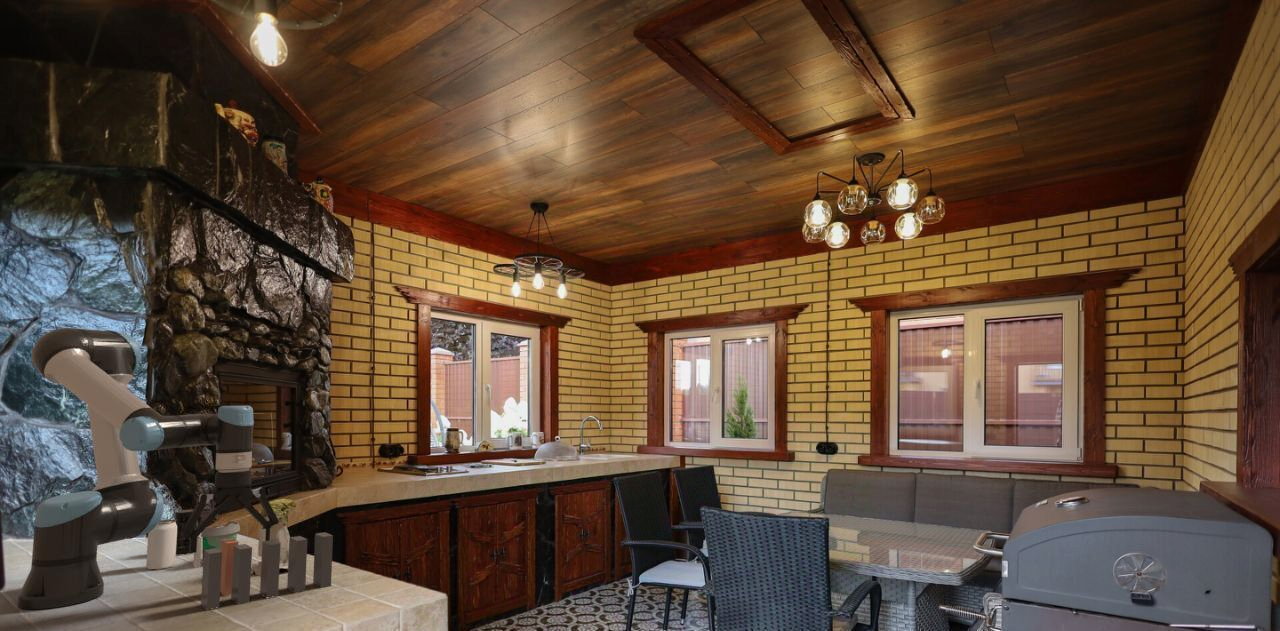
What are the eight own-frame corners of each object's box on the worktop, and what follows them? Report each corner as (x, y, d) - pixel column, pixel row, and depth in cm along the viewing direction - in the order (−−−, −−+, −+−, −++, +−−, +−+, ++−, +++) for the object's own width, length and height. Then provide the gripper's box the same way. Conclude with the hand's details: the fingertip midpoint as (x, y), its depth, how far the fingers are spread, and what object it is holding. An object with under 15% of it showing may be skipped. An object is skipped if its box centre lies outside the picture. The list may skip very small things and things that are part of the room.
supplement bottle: (171, 551, 205) (173, 509, 206) (198, 549, 208) (200, 508, 209) (166, 556, 199) (169, 513, 200) (194, 554, 202) (197, 511, 203)
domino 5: (294, 593, 164) (296, 540, 165) (287, 588, 167) (289, 537, 168) (305, 591, 165) (307, 539, 166) (297, 586, 169) (299, 536, 170)
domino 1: (206, 610, 151) (209, 553, 152) (200, 605, 155) (204, 549, 156) (219, 608, 153) (222, 552, 154) (213, 602, 156) (216, 548, 158)
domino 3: (237, 604, 155) (240, 549, 156) (231, 599, 159) (233, 545, 160) (249, 602, 157) (252, 547, 158) (242, 597, 161) (245, 543, 162)
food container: (221, 567, 187) (223, 529, 188) (198, 567, 187) (201, 529, 188) (248, 555, 200) (249, 520, 200) (226, 555, 200) (228, 520, 201)
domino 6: (320, 587, 168) (322, 537, 169) (313, 583, 171) (315, 533, 173) (331, 585, 169) (332, 535, 171) (323, 581, 173) (325, 532, 174)
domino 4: (266, 598, 159) (269, 545, 161) (259, 593, 163) (262, 541, 164) (278, 596, 161) (280, 543, 162) (270, 591, 165) (273, 539, 166)
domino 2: (224, 596, 161) (227, 543, 162) (218, 591, 165) (221, 539, 166) (235, 594, 163) (238, 541, 164) (229, 589, 167) (232, 538, 168)
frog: (309, 569, 185) (312, 499, 186) (255, 578, 176) (259, 504, 178) (297, 560, 194) (300, 494, 196) (245, 568, 185) (249, 499, 187)
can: (180, 564, 190) (183, 519, 191) (162, 570, 184) (165, 524, 185) (158, 563, 191) (161, 519, 192) (139, 570, 184) (142, 523, 186)
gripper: (175, 476, 155) (171, 574, 153) (294, 466, 173) (291, 554, 171) (168, 474, 161) (164, 568, 159) (284, 464, 178) (281, 549, 176)
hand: (230, 561), depth 165 cm, fingers open, 13 cm apart
